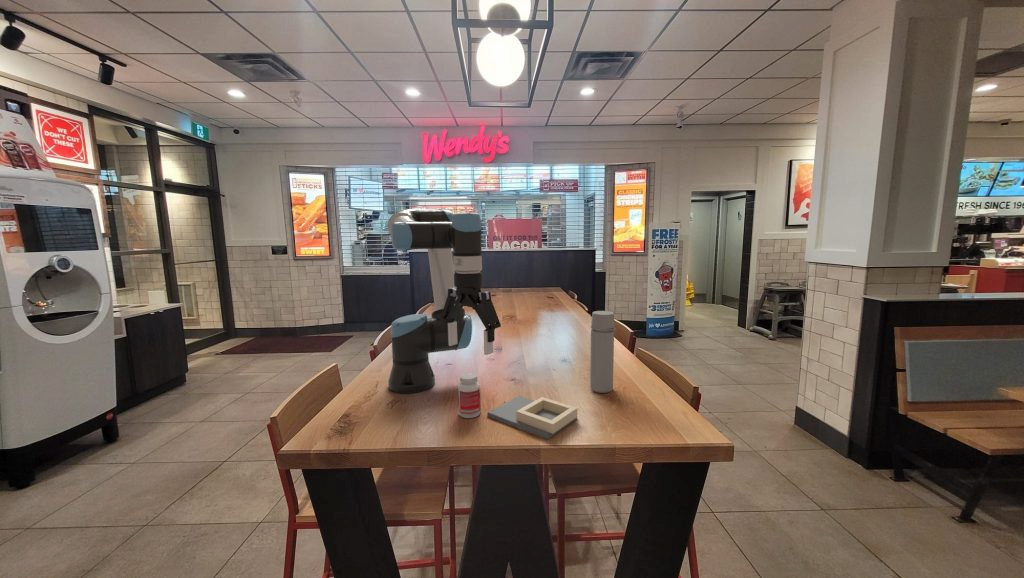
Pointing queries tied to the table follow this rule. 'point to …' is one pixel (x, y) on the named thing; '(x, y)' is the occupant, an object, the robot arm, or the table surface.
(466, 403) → the pill bottle
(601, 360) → the water bottle
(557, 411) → the socket board
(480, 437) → the table surface
